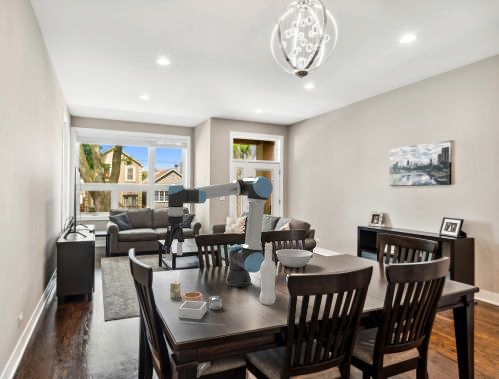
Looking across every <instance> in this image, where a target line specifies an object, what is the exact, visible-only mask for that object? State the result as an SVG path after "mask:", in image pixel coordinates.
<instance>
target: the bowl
mask: <svg viewBox="0 0 499 379" xmlns="http://www.w3.org/2000/svg"><path fill="white" fill-rule="evenodd" d="M275 253H276V256H277V259H278V260H279V262H280V263H281V264H282V265H283V266H285V267H288V268H294V269H295V268H302V267H305V266H306V265H308V264H309V262H310V261H311V259H312V256H313V254H314V253H313V252H311V251H309V250H305V249H298V248H297V249H295V248H294V249H291V248H290V249H289V248H288V249H287V248H286V249H279V250H275Z"/></svg>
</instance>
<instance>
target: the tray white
mask: <svg viewBox="0 0 499 379" xmlns="http://www.w3.org/2000/svg"><path fill="white" fill-rule="evenodd" d="M207 308H208V307H207V301H202V302H199V301H185V302H184V303H183V304H180V306H179V307H178V318H181V319H193V320H201V319H202V318H203V317H204V315H205V313H206V312H207V311H208V310H207Z"/></svg>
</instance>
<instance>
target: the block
mask: <svg viewBox="0 0 499 379" xmlns="http://www.w3.org/2000/svg"><path fill="white" fill-rule="evenodd" d="M169 286H170V288H169V290H170V291H169V292H170V293H169V294H170V296H169V298H170V299H179V298H180V297H181V281H172V282H171V283H170V285H169Z"/></svg>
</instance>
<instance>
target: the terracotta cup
mask: <svg viewBox="0 0 499 379" xmlns="http://www.w3.org/2000/svg"><path fill="white" fill-rule="evenodd" d="M181 298H182V300H181V301H182V302H181V303H182V304H183V303H184V302H185V301H199V302H203V293H201V292H199V291H188V292H184V293H183V294H182V297H181ZM182 304H181V305H182Z"/></svg>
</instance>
